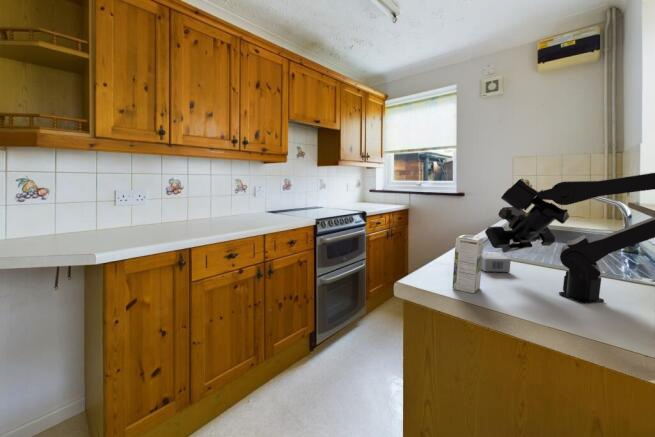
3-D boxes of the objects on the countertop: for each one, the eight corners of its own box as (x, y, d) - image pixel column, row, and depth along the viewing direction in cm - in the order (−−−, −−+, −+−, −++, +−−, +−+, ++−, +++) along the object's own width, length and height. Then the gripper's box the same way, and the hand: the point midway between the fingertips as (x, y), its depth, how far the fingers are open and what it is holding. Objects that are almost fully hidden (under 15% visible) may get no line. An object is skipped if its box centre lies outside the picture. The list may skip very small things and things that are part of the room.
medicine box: (510, 272, 96) (497, 264, 105) (511, 258, 96) (498, 252, 104) (484, 271, 97) (474, 264, 106) (485, 258, 96) (474, 251, 105)
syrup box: (458, 283, 87) (461, 233, 85) (480, 288, 83) (484, 236, 82) (452, 289, 83) (454, 237, 81) (475, 294, 79) (478, 239, 77)
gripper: (549, 197, 88) (517, 229, 100) (491, 198, 85) (465, 231, 97) (573, 228, 81) (535, 258, 93) (510, 231, 78) (480, 261, 90)
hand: (503, 251), depth 94 cm, fingers closed
